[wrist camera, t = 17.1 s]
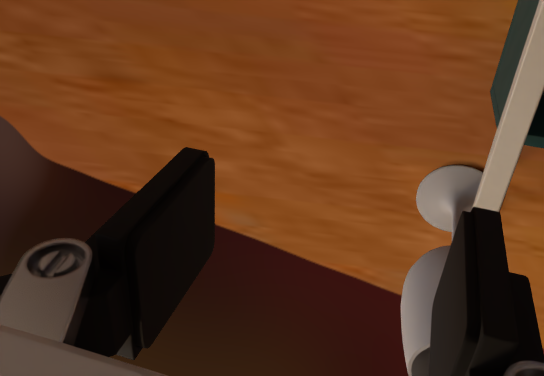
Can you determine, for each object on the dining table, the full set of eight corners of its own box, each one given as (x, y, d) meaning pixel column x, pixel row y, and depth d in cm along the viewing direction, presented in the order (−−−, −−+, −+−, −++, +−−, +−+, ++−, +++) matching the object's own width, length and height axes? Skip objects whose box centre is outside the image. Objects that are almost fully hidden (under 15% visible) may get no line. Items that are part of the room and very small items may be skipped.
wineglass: (518, 203, 46) (559, 394, 28) (450, 245, 50) (449, 433, 33) (462, 147, 45) (468, 309, 27) (397, 194, 49) (367, 360, 32)
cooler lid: (605, -78, 12) (569, -81, 13) (461, 314, 20) (440, 307, 20) (586, -91, 26) (569, -92, 26) (505, 145, 33) (492, 142, 33)
